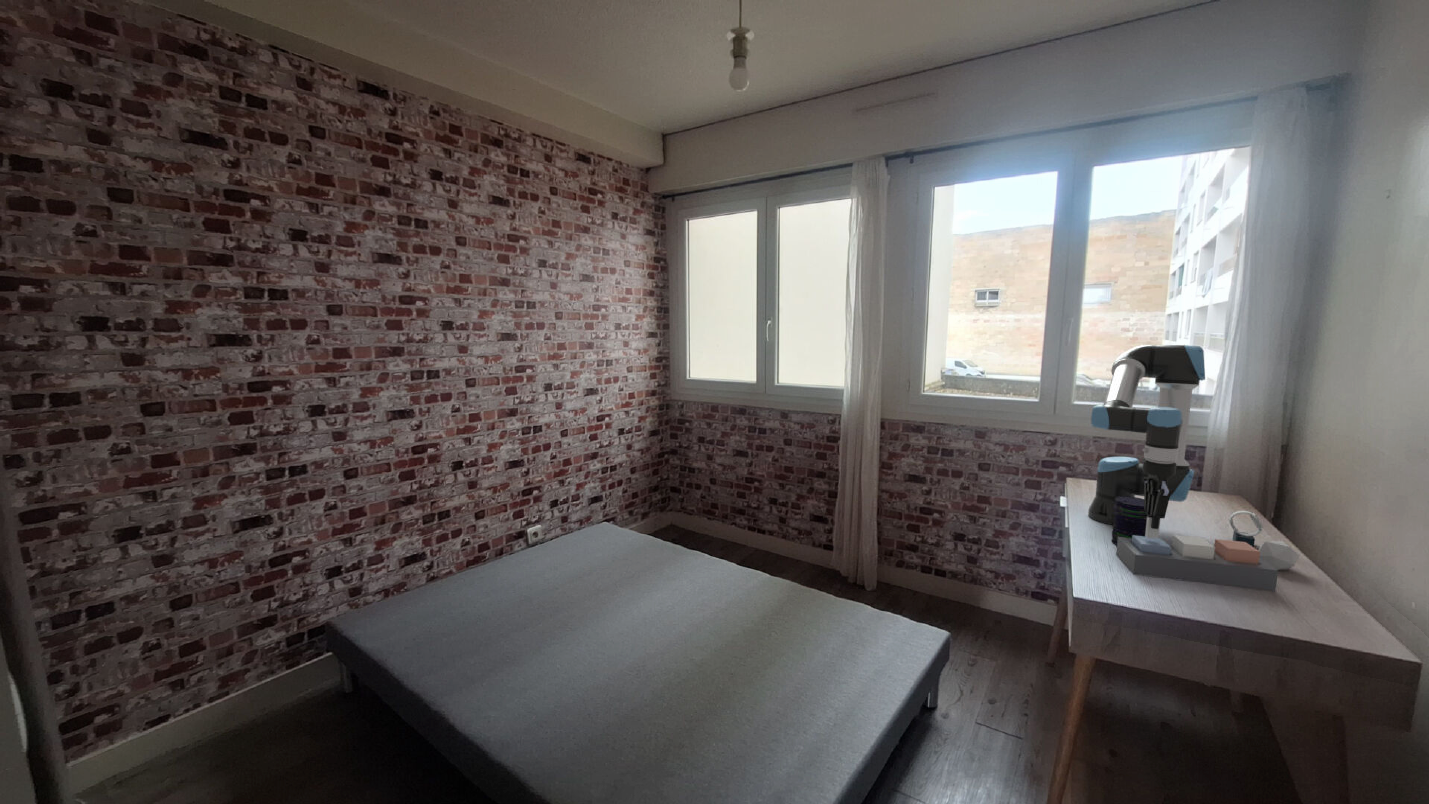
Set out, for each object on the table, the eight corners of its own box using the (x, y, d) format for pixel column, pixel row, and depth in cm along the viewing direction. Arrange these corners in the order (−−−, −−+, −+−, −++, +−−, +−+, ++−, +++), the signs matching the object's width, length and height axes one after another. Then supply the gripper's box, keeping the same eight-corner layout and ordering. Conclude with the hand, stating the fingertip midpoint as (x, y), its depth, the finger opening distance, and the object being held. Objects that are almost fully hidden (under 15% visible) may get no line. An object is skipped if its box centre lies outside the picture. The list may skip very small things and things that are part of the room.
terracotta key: (1213, 555, 158) (1215, 539, 157) (1243, 558, 156) (1245, 542, 155) (1226, 565, 152) (1228, 548, 151) (1257, 568, 149) (1260, 551, 149)
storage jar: (1133, 538, 182) (1137, 496, 180) (1156, 550, 173) (1161, 505, 170) (1103, 538, 182) (1107, 496, 180) (1125, 550, 173) (1129, 505, 171)
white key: (1171, 550, 162) (1173, 535, 161) (1200, 553, 159) (1202, 537, 158) (1182, 560, 155) (1184, 543, 154) (1212, 563, 153) (1214, 547, 152)
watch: (1262, 549, 172) (1266, 516, 171) (1227, 543, 177) (1231, 511, 176) (1258, 544, 177) (1263, 511, 175) (1225, 538, 182) (1229, 507, 180)
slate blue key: (1130, 550, 165) (1132, 535, 164) (1158, 553, 163) (1160, 538, 162) (1139, 560, 159) (1141, 543, 158) (1169, 563, 156) (1170, 547, 155)
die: (1275, 563, 164) (1252, 536, 166) (1311, 559, 157) (1287, 531, 158) (1267, 578, 160) (1244, 551, 162) (1303, 576, 153) (1279, 547, 154)
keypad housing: (1116, 554, 170) (1117, 536, 169) (1245, 569, 159) (1247, 550, 158) (1133, 574, 157) (1135, 554, 156) (1275, 591, 146) (1278, 570, 145)
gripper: (1135, 454, 164) (1128, 528, 167) (1153, 465, 152) (1145, 544, 155) (1165, 455, 161) (1157, 530, 165) (1186, 467, 149) (1177, 547, 153)
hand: (1151, 537), depth 160 cm, fingers closed
